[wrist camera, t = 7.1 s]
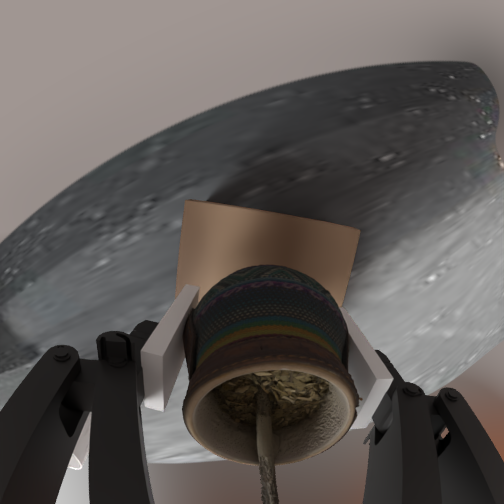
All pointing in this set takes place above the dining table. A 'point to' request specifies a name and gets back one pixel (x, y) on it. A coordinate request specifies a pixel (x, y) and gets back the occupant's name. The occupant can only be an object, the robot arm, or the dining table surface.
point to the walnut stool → (261, 246)
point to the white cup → (81, 447)
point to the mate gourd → (268, 370)
